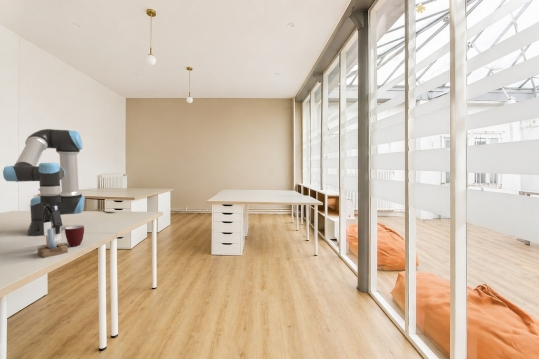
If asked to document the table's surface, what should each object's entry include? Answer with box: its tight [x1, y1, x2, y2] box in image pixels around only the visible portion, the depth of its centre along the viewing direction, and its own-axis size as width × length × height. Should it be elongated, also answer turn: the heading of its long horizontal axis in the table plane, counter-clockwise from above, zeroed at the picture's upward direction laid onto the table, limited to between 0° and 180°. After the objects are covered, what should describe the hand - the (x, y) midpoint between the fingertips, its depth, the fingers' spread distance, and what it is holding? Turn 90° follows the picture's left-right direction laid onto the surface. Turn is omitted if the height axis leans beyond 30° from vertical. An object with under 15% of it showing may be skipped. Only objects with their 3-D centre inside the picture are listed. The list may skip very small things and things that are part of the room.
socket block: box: [37, 242, 69, 258], centre depth 122 cm, size 9×9×3 cm
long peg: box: [47, 228, 58, 249], centre depth 122 cm, size 3×3×12 cm
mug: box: [64, 224, 85, 247], centre depth 135 cm, size 10×8×10 cm
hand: (52, 237), depth 122 cm, fingers open, 13 cm apart
